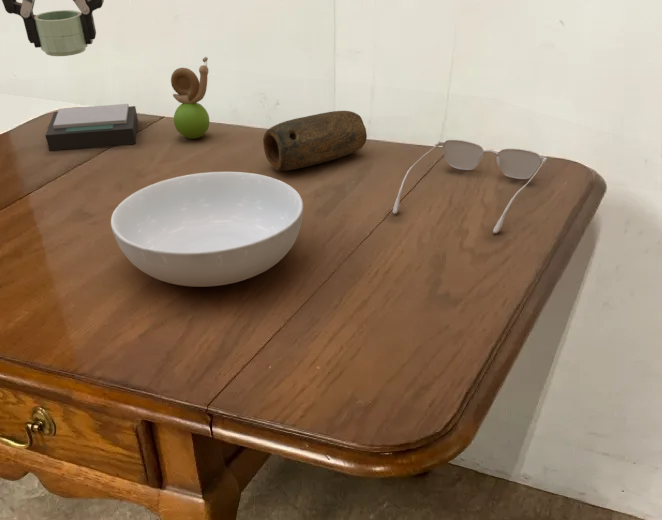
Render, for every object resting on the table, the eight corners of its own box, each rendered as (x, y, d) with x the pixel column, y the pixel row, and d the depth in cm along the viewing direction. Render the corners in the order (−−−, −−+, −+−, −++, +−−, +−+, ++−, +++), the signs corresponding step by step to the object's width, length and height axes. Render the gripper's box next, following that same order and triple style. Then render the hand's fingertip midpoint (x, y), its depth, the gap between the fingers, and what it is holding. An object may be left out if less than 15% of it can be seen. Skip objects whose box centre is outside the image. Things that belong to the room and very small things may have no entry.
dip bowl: (39, 58, 104) (30, 22, 101) (46, 46, 109) (37, 11, 106) (86, 55, 104) (78, 19, 101) (90, 43, 109) (83, 9, 106)
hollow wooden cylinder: (290, 183, 106) (287, 134, 102) (260, 168, 110) (257, 121, 106) (371, 155, 113) (372, 108, 109) (341, 143, 117) (340, 97, 113)
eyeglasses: (544, 182, 104) (548, 153, 102) (503, 237, 92) (507, 205, 89) (437, 164, 110) (438, 136, 107) (385, 214, 97) (386, 183, 95)
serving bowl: (192, 211, 99) (185, 159, 95) (337, 243, 91) (336, 188, 87) (82, 285, 85) (67, 227, 81) (242, 330, 77) (235, 269, 73)
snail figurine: (210, 145, 118) (200, 62, 110) (171, 142, 119) (158, 60, 112) (222, 133, 122) (213, 52, 114) (184, 130, 123) (173, 50, 116)
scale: (49, 150, 118) (44, 131, 116) (57, 126, 126) (53, 108, 124) (135, 143, 119) (131, 124, 117) (137, 120, 128) (134, 102, 126)
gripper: (93, -106, 99) (119, 34, 110) (-22, -101, 98) (15, 41, 108) (87, -100, 93) (115, 48, 104) (-35, -94, 92) (5, 55, 102)
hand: (64, 44), depth 106 cm, fingers closed on dip bowl, 6 cm apart
